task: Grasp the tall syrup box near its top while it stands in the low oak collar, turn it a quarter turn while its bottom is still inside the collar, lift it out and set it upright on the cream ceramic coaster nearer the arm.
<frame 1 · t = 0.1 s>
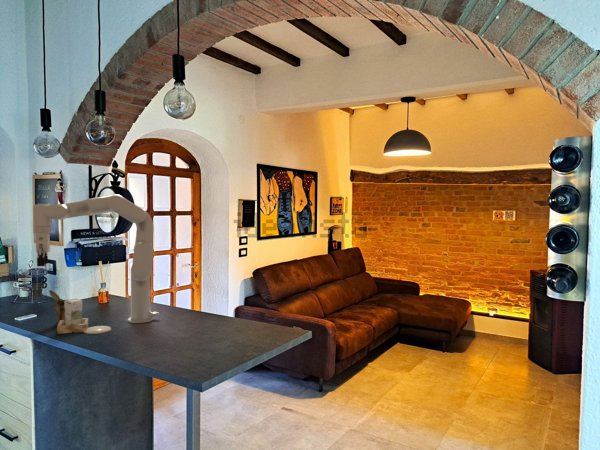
hand: (42, 264, 212), 31 cm above the counter, tool pointing down, fingers open, 9 cm apart
oak collar: (73, 329, 212), on the counter
syrup box: (73, 329, 212), resting in oak collar
wooden mug: (63, 323, 223), on the counter
ceramic coaster: (97, 330, 211), on the counter
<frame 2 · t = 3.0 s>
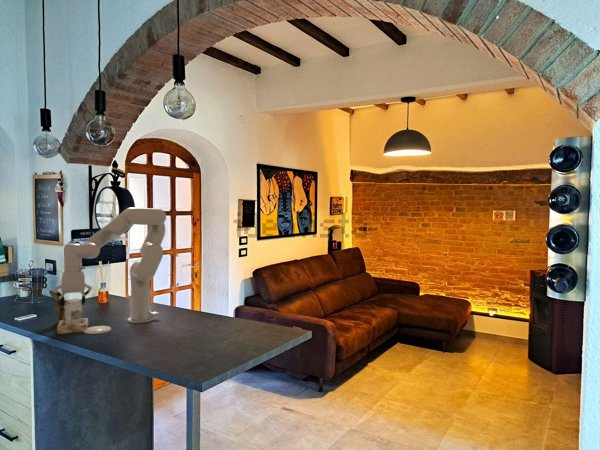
hand: (73, 304, 212), 12 cm above the counter, tool pointing down, fingers closed on syrup box, 8 cm apart
syrup box: (73, 329, 212), resting in oak collar, touching gripper
everything else where it was.
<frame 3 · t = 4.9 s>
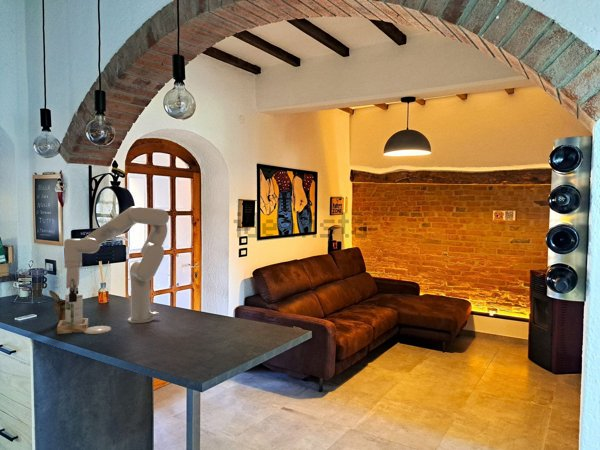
hand: (73, 299, 212), 14 cm above the counter, tool pointing down, fingers closed on syrup box, 8 cm apart
syrup box: (74, 324, 212), point 2 cm above the counter, touching gripper
everything else where it was.
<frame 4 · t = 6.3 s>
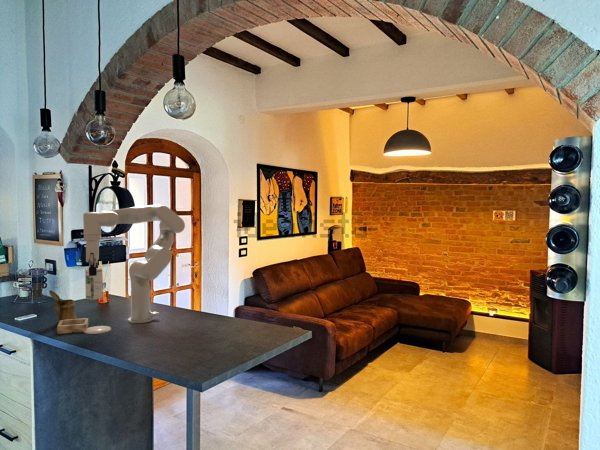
hand: (93, 273, 210), 27 cm above the counter, tool pointing down, fingers closed on syrup box, 8 cm apart
syrup box: (94, 298, 211), point 15 cm above the counter, touching gripper
everything else where it was.
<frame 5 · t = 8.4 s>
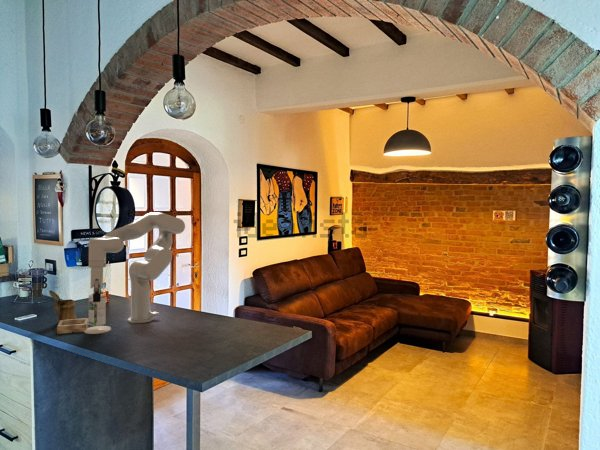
hand: (97, 299, 210), 15 cm above the counter, tool pointing down, fingers closed on syrup box, 8 cm apart
syrup box: (97, 324, 210), point 3 cm above the counter, touching gripper
everything else where it was.
when the fingers open (13 cm above the counter, at t = 9.8 s): syrup box stays where it is, resting on ceramic coaster.
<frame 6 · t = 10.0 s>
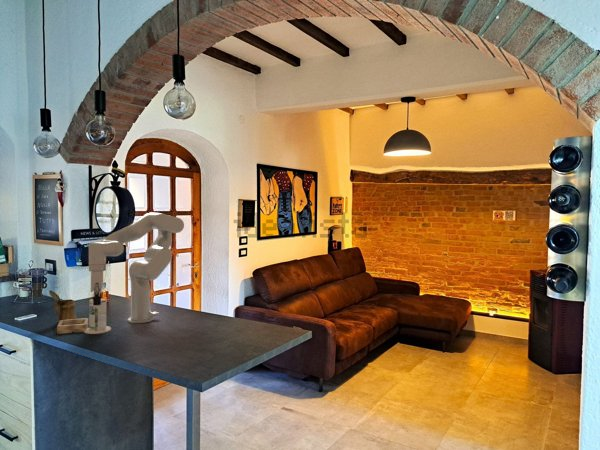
hand: (97, 302, 210), 13 cm above the counter, tool pointing down, fingers open, 9 cm apart
syrup box: (97, 329, 211), resting on ceramic coaster
everything else where it was.
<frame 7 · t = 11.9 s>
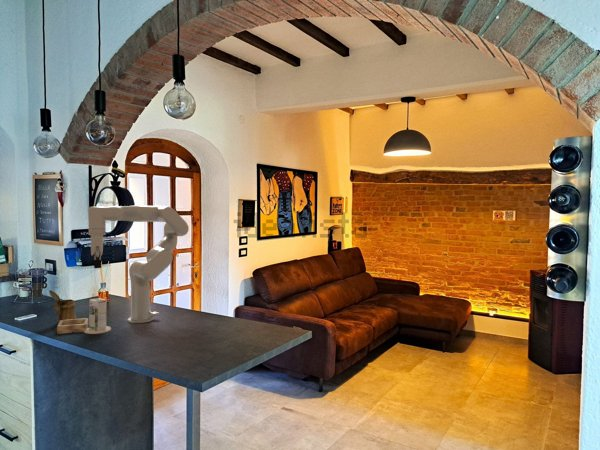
hand: (97, 266, 213), 31 cm above the counter, tool pointing down, fingers open, 9 cm apart
nothing on the counter moved.
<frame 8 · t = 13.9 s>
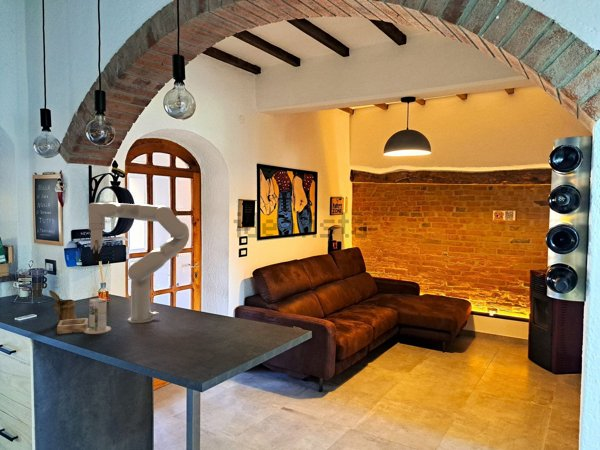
hand: (97, 259, 225), 32 cm above the counter, tool pointing down, fingers open, 9 cm apart
nothing on the counter moved.
at the end: syrup box 0.2 cm from the ceramic coaster (horizontally); syrup box tilted 0°; syrup box resting on ceramic coaster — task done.
